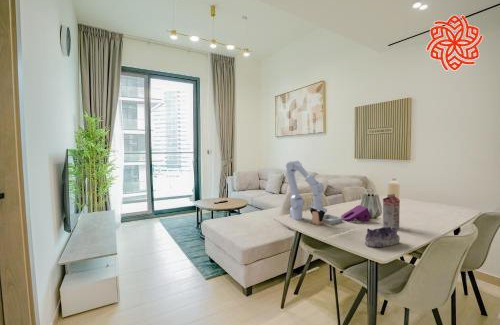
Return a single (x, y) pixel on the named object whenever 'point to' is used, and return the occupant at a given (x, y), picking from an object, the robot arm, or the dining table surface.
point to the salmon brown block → (316, 218)
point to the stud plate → (318, 225)
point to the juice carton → (391, 211)
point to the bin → (335, 218)
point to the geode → (381, 237)
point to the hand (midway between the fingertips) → (317, 220)
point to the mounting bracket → (357, 214)
